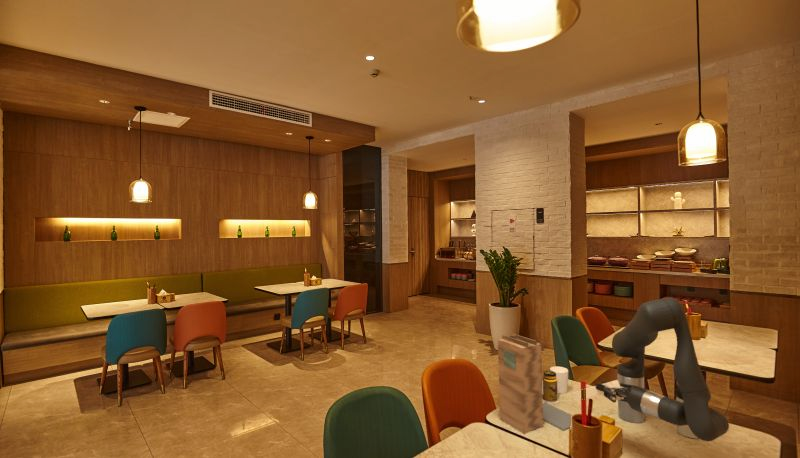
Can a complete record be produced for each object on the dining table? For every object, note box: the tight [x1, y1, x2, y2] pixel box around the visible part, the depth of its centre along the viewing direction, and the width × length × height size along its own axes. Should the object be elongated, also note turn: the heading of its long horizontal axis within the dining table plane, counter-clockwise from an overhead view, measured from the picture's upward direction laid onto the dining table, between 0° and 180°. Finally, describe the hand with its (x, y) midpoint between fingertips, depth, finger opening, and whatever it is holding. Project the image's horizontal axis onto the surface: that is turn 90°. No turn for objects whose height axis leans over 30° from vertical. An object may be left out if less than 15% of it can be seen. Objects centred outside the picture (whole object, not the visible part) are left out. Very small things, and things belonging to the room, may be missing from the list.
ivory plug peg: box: [571, 379, 621, 402], centre depth 144 cm, size 3×19×3 cm, turn 29°
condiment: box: [542, 370, 560, 404], centre depth 177 cm, size 7×8×12 cm
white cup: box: [549, 366, 569, 395], centre depth 185 cm, size 8×8×10 cm
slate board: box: [543, 402, 573, 432], centre depth 161 cm, size 12×19×1 cm, turn 28°
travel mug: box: [675, 383, 699, 440], centre depth 145 cm, size 8×8×18 cm
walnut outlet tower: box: [497, 332, 544, 435], centre depth 156 cm, size 10×13×34 cm
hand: (599, 384), depth 143 cm, fingers closed on ivory plug peg, 3 cm apart
